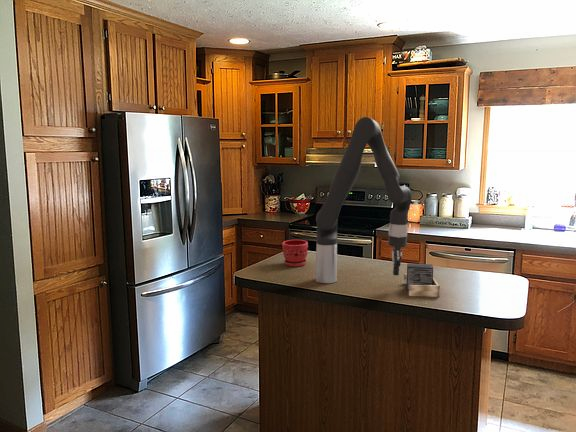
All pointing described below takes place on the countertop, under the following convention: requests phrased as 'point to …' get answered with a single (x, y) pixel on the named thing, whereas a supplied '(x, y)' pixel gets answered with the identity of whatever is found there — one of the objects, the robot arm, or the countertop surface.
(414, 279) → the small box
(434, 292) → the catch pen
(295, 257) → the plant pot
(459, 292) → the countertop surface
